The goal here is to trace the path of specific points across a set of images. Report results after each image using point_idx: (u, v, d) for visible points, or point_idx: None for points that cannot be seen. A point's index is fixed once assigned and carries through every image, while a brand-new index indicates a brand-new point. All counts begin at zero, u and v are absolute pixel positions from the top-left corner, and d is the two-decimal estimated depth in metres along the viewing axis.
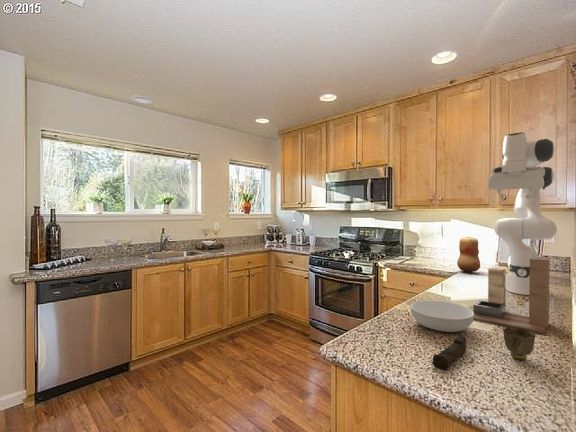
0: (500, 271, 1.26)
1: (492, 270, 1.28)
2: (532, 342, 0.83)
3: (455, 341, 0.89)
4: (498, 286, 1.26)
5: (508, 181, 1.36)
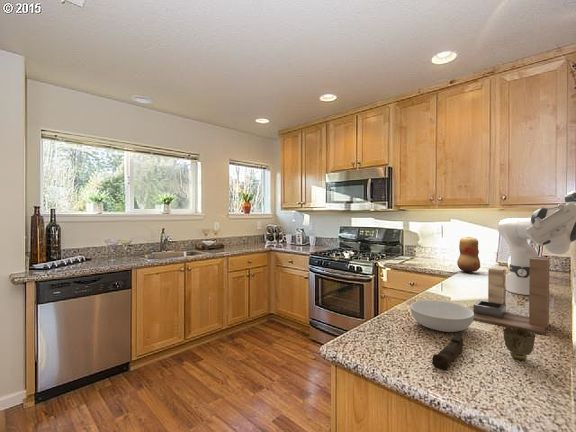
0: (500, 271, 1.26)
1: (492, 270, 1.28)
2: (532, 342, 0.83)
3: (453, 340, 0.90)
4: (498, 286, 1.26)
5: None
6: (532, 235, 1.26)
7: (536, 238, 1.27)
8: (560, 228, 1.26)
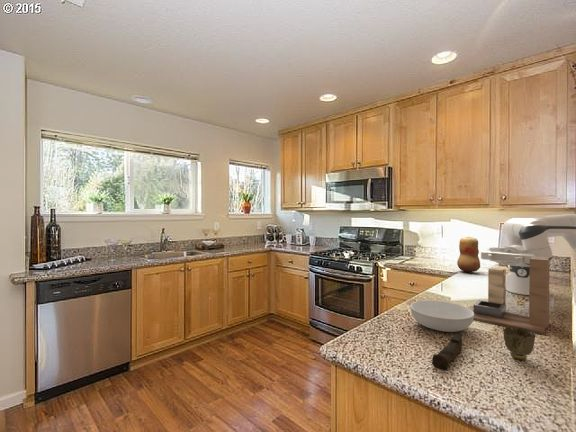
0: (500, 271, 1.26)
1: (492, 270, 1.28)
2: (532, 342, 0.83)
3: (452, 340, 0.90)
4: (498, 286, 1.26)
5: (502, 252, 1.40)
6: (482, 258, 1.44)
7: None
8: (511, 262, 1.39)
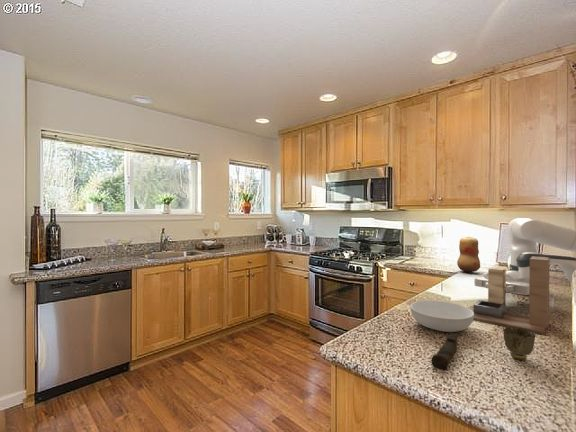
0: (500, 271, 1.26)
1: (492, 270, 1.28)
2: (532, 342, 0.83)
3: (448, 339, 0.91)
4: (498, 286, 1.26)
5: None
6: (475, 285, 1.39)
7: None
8: None
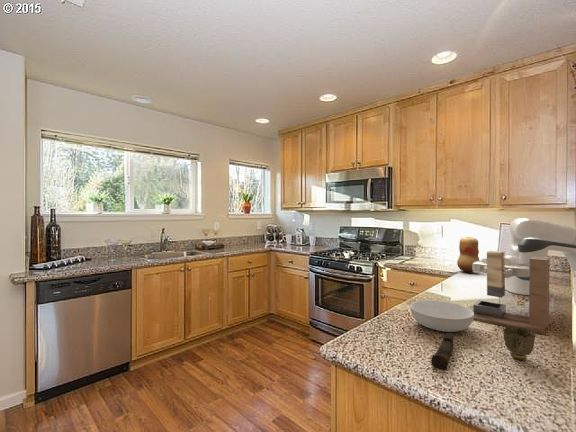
0: (499, 254, 1.22)
1: (491, 253, 1.24)
2: (532, 342, 0.83)
3: (445, 339, 0.91)
4: (497, 270, 1.22)
5: None
6: None
7: None
8: (505, 274, 1.30)
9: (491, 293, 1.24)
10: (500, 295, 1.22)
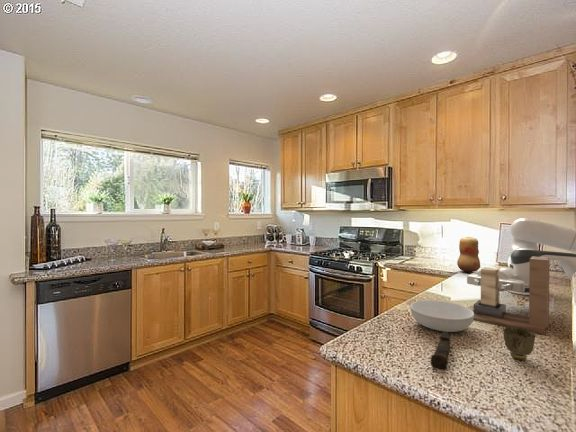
0: (493, 271, 1.19)
1: (485, 270, 1.22)
2: (532, 342, 0.83)
3: (442, 338, 0.91)
4: (491, 288, 1.20)
5: None
6: (468, 283, 1.33)
7: None
8: None
9: None
10: None
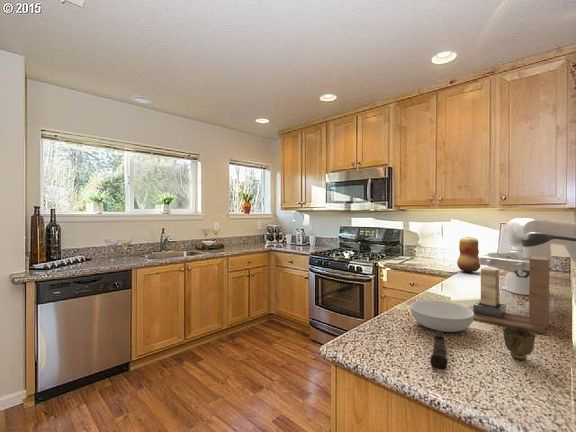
0: (493, 271, 1.19)
1: (485, 270, 1.22)
2: (532, 342, 0.83)
3: (437, 337, 0.92)
4: (491, 288, 1.20)
5: (501, 258, 1.36)
6: (480, 264, 1.39)
7: None
8: (510, 268, 1.35)
9: None
10: None
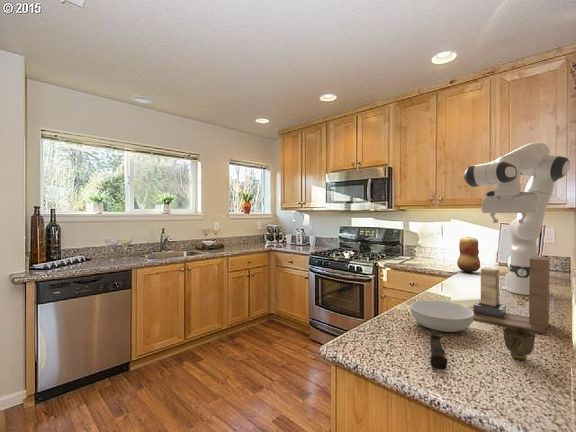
0: (493, 271, 1.19)
1: (485, 270, 1.22)
2: (532, 342, 0.83)
3: (433, 337, 0.92)
4: (491, 288, 1.20)
5: (501, 205, 1.36)
6: None
7: None
8: None
9: None
10: None
